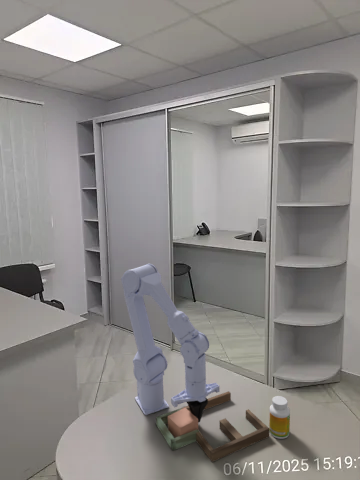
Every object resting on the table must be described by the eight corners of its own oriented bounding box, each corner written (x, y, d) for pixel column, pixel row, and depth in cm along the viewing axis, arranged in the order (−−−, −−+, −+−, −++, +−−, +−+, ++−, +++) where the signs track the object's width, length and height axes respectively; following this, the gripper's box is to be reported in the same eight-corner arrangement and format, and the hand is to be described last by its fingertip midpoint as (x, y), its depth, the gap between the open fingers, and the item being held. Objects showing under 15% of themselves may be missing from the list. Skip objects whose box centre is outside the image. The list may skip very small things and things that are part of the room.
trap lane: (156, 424, 100) (155, 416, 100) (228, 398, 111) (228, 391, 110) (187, 473, 83) (186, 464, 83) (269, 436, 94) (269, 428, 94)
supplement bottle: (290, 440, 92) (291, 407, 91) (269, 438, 94) (270, 405, 92) (288, 426, 98) (289, 395, 96) (268, 424, 99) (269, 393, 97)
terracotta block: (168, 430, 98) (167, 416, 97) (185, 421, 101) (185, 407, 100) (180, 443, 93) (180, 428, 92) (198, 433, 96) (198, 418, 95)
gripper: (178, 392, 90) (180, 438, 93) (225, 376, 97) (225, 420, 99) (167, 378, 96) (168, 422, 99) (211, 365, 103) (212, 406, 105)
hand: (196, 420), depth 99 cm, fingers closed
